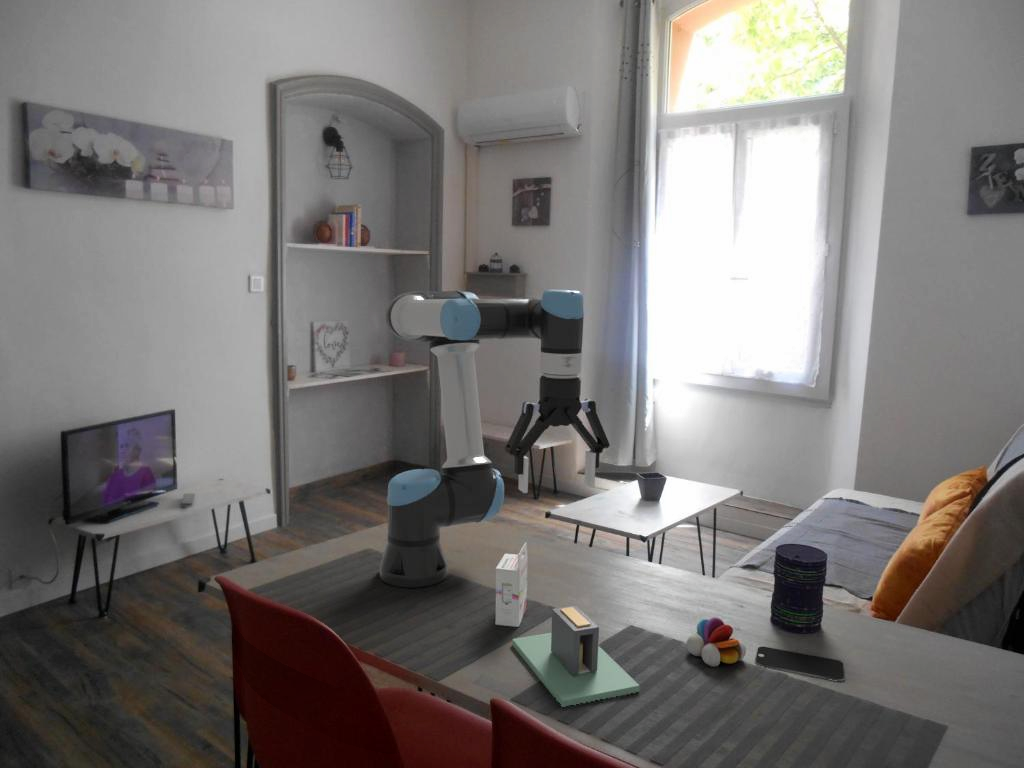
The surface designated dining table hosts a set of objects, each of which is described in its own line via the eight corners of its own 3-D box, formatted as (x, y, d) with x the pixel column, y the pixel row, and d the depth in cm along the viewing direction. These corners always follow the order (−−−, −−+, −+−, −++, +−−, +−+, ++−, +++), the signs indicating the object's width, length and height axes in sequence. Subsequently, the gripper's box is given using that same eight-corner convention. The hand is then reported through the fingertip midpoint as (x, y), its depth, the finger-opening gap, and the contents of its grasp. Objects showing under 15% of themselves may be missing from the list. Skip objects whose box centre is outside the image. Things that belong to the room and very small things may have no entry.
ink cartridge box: (503, 606, 161) (504, 538, 159) (526, 609, 160) (528, 540, 158) (493, 625, 153) (495, 553, 151) (518, 628, 152) (520, 555, 150)
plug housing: (550, 651, 140) (552, 607, 139) (574, 647, 142) (575, 603, 141) (572, 675, 132) (574, 629, 131) (597, 671, 134) (599, 625, 132)
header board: (512, 645, 145) (512, 616, 144) (580, 633, 150) (581, 605, 149) (562, 707, 125) (563, 674, 124) (639, 692, 130) (640, 660, 129)
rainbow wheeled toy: (715, 674, 136) (717, 635, 135) (679, 650, 145) (681, 613, 144) (751, 664, 140) (754, 626, 139) (714, 641, 149) (717, 605, 148)
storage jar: (778, 608, 163) (783, 540, 161) (827, 621, 158) (833, 550, 156) (762, 625, 155) (768, 553, 153) (814, 640, 150) (820, 565, 147)
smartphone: (757, 644, 147) (844, 660, 141) (757, 648, 147) (844, 664, 141) (754, 663, 140) (845, 681, 134) (753, 667, 140) (844, 685, 134)
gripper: (503, 380, 135) (501, 499, 138) (630, 376, 144) (625, 487, 147) (489, 374, 142) (486, 488, 145) (611, 370, 151) (606, 477, 154)
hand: (556, 488), depth 146 cm, fingers open, 13 cm apart
